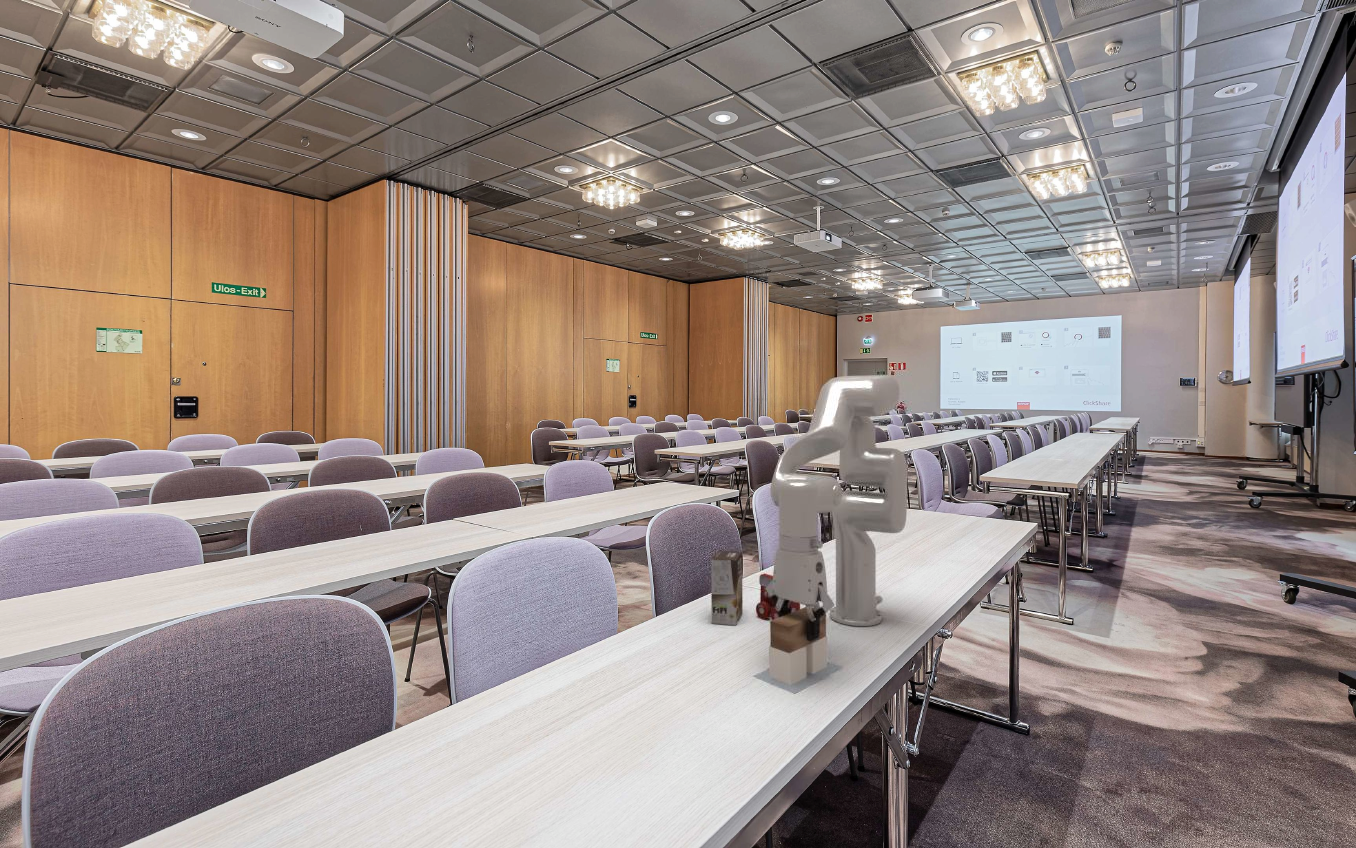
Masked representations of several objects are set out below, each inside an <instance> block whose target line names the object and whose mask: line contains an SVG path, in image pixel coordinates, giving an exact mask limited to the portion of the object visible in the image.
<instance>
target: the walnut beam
mask: <svg viewBox="0 0 1356 848" xmlns="http://www.w3.org/2000/svg"><path fill="white" fill-rule="evenodd" d="M813 609H814V607H813ZM814 612H815V610H814ZM807 620H809V616H808V612H807V609H806V606H804V607H802V608H800V609H799V610H797V611H794V612H792V613H789V614H787V615H784V616H782V617H779V618H776V619H774V620H772V619H771V620H770V622H769V623H770V628H769V629H770V630H769V632H770V633H769V635H770V639H769V640H770V643H769V644H770V645H769V646H770V647H773V648H776V649H778V650H781V651H784V652H787V653H792V652H794V651H796V650H798V649H800V648H802V647H804V646H807V645H809V644H811V643H813V642H815V641H817V640H819V639H822V638H824V637H827V613H826V614H825V615H823V617H822V618H820V634H819V638H817V639H815V640H813V641H808V640H807Z"/></svg>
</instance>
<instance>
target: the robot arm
mask: <svg viewBox="0 0 1356 848" xmlns="http://www.w3.org/2000/svg"><path fill="white" fill-rule="evenodd" d="M898 383H899V382H898V381H897V379H896V378H895V377H894V376H892V375H889V374H879V375H876V374H875V375H844V376H843V375H841V376H837V377H833V378H831V379H829V380H828V381H827V382H826V383H825V384H823V385H822V387H821V389H820V392H819V394H818V398H817V401H816V404H815V408H814V411H813V414H812V418H811V421H810V425H809V429H808V431H807V432H806V433H804V434H802V435H801V436H800V437H799V438H797V439H795V441H794V442H792V443H791V444H790V445H789V446H788V447H787V448H786V449H785V450H784V451H783V452H782V454H781V455H780V457H779V458H778V461H777V463H776V467H775V469H774V473H773V476H772V479H771V484H770V489H769V490H770V498H771V501H772V503H773V504H774V505H775V506H776V507H777V508H778V547H776V552H775V557H774V563H773V572H772V574H773V575H772V576H773V581H772V582H771V583H770V584H769V585H768V586H767V587H766V590H767V592H768V593H769V595H770V596H771V599H772V601H773V602H774V604H775V605H776V610H777V611H779V617H782V616H784V615H787V614H789V613H791V609H790V608H788V607H789V604H790V601H792V602H796V603H799V604H800V605H804V607H806V609H807V612H808V616H809V620H807V640H808V641H813V640H815V639H817V638H819V634H820V618H822V617H823V615H825V614H826V615H827V613H828V612H829V618H830V619H832V620H833V621H835V622H837V623H838V624H843V625H846V626H853V627H871V626H875V625H878V624H881V622H882V621H883V614H882V613H881V612H880V611H879V610H877V606H878V605H879V604H881V603H882V602H884V601H883V597H882V596H881V595H876V594H877V593H876V591H877V590H876V588H877V587H876V586H877V583H876V581H877V580H876V579H877V578H876V575H877V574H876V569H877V568H876V565H877V564H876V561H877V560H876V557H877V556H876V551H877V550H876V547H875V544H874V542H873V540H872V538H871V537H870V536H869V534H868V533H867V532H873V533H883V534H899V533H901V532H902V531H903V530H904V528H905V526H906V522H907V508H908V507H907V506H908V505H907V504H908V503H907V502H908V464H907V459H906V457H905V455H904V453H903V452H902V451H901V450H899V449H897V448H892V447H877V445H876V431H877V429H876V426H875V424H874V422H873V420H872V419H871V417H880V416H883V415H886V414H887V413H890V412H891V411H893V410H894V409H895V408H896V406H897V404H898V403H899V399H900V388H899V387H900V385H899V384H898ZM837 452H839V461H838V462H839V463H838V464H839V477H840V480H841V481H842V482H843V483H844V484H848V485H850V486H851V485H852V486H860V487H873V488H874V487H876V488H883V489H884V491H885V492H877V491H876V492H873V491H865V490H863V491H862V490H844V491H842V486H841V484H840V483H839V481H838V480H837V479H836V478H834V477H833V476H830V475H823V474H809V473H797V472H798V471H799V470H800V469H801V468H802V467H804V466H805V465H806V464H808V463H809V462H813V461H814V460H818V459H820V458H823V457H826V456H829V455H831V454H835V453H837ZM825 513H831V515H832V520H833V526H834V534H835V538H834V539H835V603H834V601H833V599H831V597H830V596H829V594H828V582H827V571H826V564H825V560H824V556H823V551H821V550H819V549H822V548H823V545H824V543H823V541H821V540H819V514H825ZM820 602H822V605H820ZM813 608H814V609H813ZM814 610H815V612H814Z"/></svg>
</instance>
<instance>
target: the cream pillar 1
mask: <svg viewBox="0 0 1356 848" xmlns="http://www.w3.org/2000/svg"><path fill="white" fill-rule="evenodd" d="M768 649H769V650H768V651H769V654H768V656H769V663H768V665H769V668H768V669H769V677H771V678H773V679H776V680H778V681H780V682H783V683H785V684H788V685H790V686H791V685H793V684H795V683H797V682H798V681H800V680H802V679H804V678H806V646H804V647H802V648H800V649H798V650H796V651H794V652H792V653H787V652H784V651H781V650H778V649H776V648H773V647H770V645H768Z"/></svg>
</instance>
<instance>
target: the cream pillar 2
mask: <svg viewBox="0 0 1356 848" xmlns="http://www.w3.org/2000/svg"><path fill="white" fill-rule="evenodd" d="M827 662H828V636H826V637H824V638H822V639H819V640H817V641H815V642H813V643H811V644H809V645H807V646H806V672H808V673H811V674H814V673H816V672H818V671H820V670H822V669H823V668H825V667H827Z"/></svg>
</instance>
